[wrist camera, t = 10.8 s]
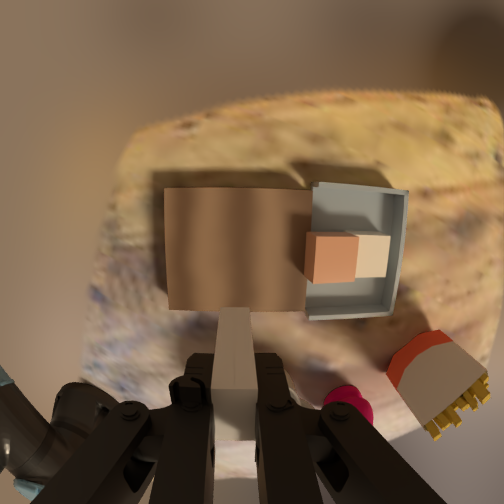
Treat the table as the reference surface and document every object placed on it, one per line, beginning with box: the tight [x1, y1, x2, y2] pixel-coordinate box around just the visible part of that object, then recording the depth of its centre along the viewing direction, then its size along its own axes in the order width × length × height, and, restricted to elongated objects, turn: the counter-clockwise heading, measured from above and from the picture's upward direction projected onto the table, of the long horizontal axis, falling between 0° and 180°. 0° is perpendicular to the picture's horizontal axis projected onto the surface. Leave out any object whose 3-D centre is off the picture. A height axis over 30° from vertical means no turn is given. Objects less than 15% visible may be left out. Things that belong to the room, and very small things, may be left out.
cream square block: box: [344, 230, 391, 278], centre depth 33 cm, size 5×5×3 cm
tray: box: [304, 182, 409, 320], centre depth 34 cm, size 12×16×4 cm
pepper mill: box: [324, 386, 373, 425], centre depth 31 cm, size 7×7×20 cm
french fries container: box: [386, 330, 490, 441], centre depth 31 cm, size 5×11×18 cm, turn 127°
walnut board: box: [164, 187, 313, 312], centre depth 33 cm, size 16×14×3 cm
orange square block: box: [304, 232, 359, 284], centre depth 31 cm, size 5×5×3 cm
